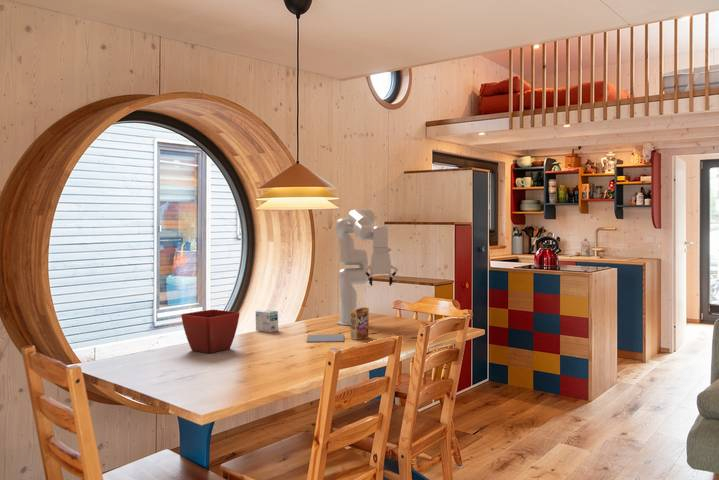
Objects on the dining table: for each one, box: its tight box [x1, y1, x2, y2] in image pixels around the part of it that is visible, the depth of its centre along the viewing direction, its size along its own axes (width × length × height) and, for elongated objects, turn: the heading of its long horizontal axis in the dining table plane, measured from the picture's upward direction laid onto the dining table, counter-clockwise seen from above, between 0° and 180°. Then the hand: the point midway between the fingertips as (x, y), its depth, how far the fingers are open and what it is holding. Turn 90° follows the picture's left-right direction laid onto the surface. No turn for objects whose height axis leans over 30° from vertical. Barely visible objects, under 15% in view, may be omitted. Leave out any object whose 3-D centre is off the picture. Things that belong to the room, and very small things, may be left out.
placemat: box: [306, 333, 345, 343], centre depth 293 cm, size 16×18×1 cm
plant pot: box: [180, 309, 240, 354], centre depth 270 cm, size 19×19×17 cm
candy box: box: [350, 306, 370, 341], centre depth 294 cm, size 9×4×15 cm, turn 134°
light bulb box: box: [255, 309, 279, 333], centre depth 316 cm, size 11×7×11 cm, turn 58°
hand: (380, 285), depth 293 cm, fingers open, 9 cm apart
